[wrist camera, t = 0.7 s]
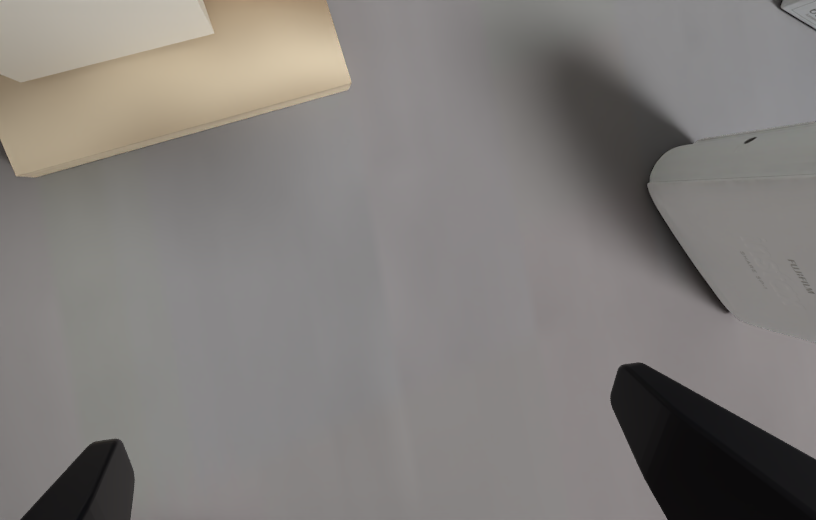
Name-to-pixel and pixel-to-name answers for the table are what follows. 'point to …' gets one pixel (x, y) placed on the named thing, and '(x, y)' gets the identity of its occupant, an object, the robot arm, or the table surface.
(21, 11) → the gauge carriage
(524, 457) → the table surface
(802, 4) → the light bulb box
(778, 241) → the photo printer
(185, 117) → the base
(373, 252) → the table surface
